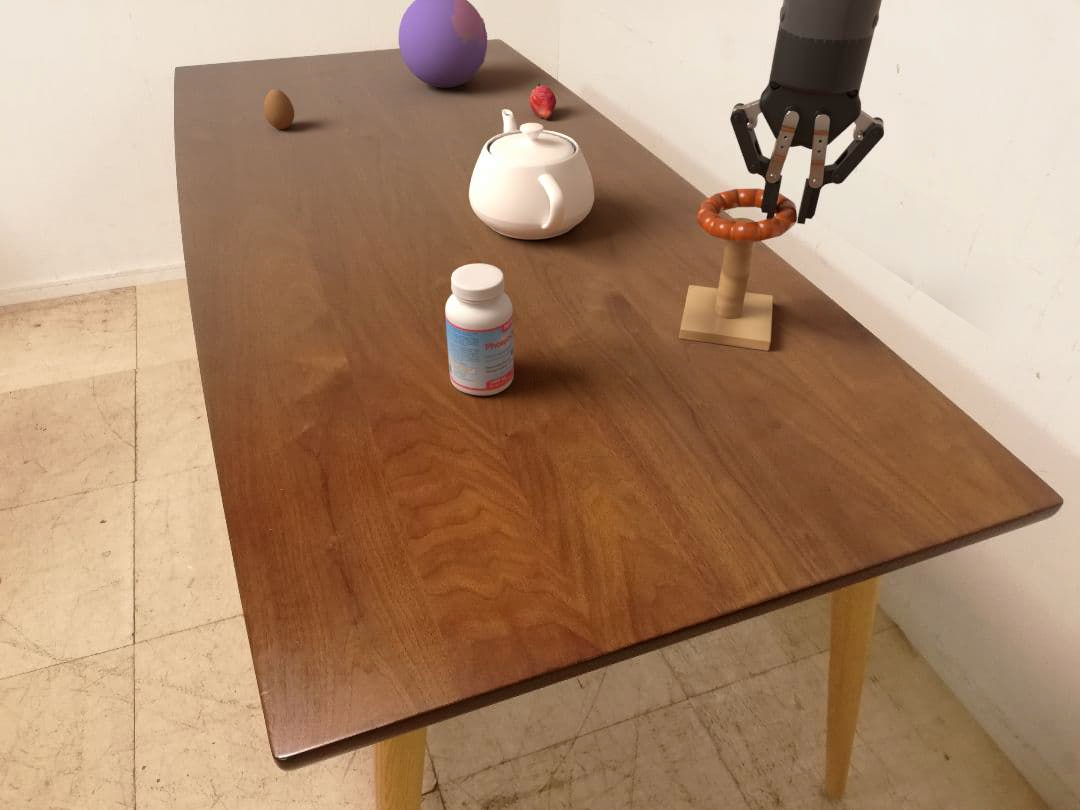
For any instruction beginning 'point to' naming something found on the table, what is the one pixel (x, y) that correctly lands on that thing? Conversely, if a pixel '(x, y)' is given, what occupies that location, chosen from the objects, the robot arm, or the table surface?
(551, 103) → the fruit
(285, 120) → the egg
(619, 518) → the table surface
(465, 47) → the decorative ball
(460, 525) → the table surface
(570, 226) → the teapot
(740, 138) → the robot arm
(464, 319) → the pill bottle
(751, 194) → the ring
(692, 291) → the post
